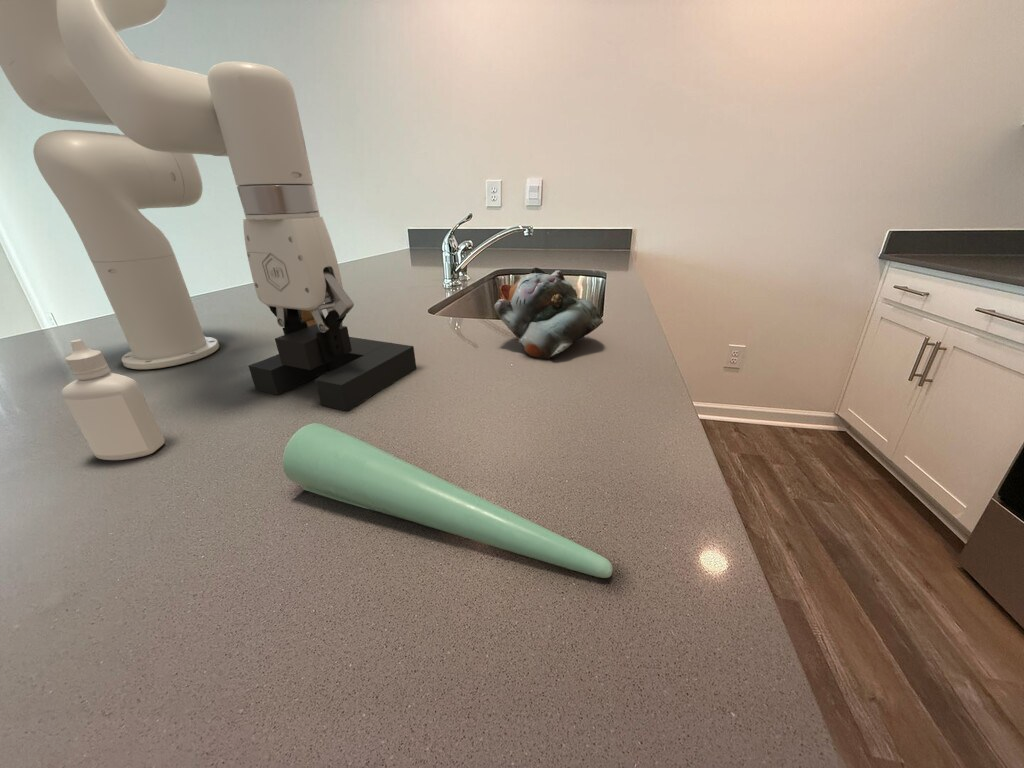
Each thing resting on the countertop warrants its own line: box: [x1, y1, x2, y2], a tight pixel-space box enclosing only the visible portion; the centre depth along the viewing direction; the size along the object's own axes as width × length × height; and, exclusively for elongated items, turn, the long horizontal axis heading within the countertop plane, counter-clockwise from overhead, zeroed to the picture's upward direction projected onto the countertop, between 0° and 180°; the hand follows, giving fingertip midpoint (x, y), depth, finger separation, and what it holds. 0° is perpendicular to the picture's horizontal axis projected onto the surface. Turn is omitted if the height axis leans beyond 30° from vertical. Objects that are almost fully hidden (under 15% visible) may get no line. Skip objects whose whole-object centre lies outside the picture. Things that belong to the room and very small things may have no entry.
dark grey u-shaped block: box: [247, 336, 417, 412], centre depth 56 cm, size 16×14×4 cm
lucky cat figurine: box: [493, 267, 604, 360], centre depth 66 cm, size 15×12×14 cm
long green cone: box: [282, 422, 614, 579], centre depth 31 cm, size 5×6×27 cm
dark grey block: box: [274, 324, 352, 370], centre depth 52 cm, size 5×7×4 cm
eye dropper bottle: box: [61, 339, 165, 461], centre depth 39 cm, size 4×6×12 cm
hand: (317, 354), depth 53 cm, fingers closed on dark grey block, 4 cm apart
